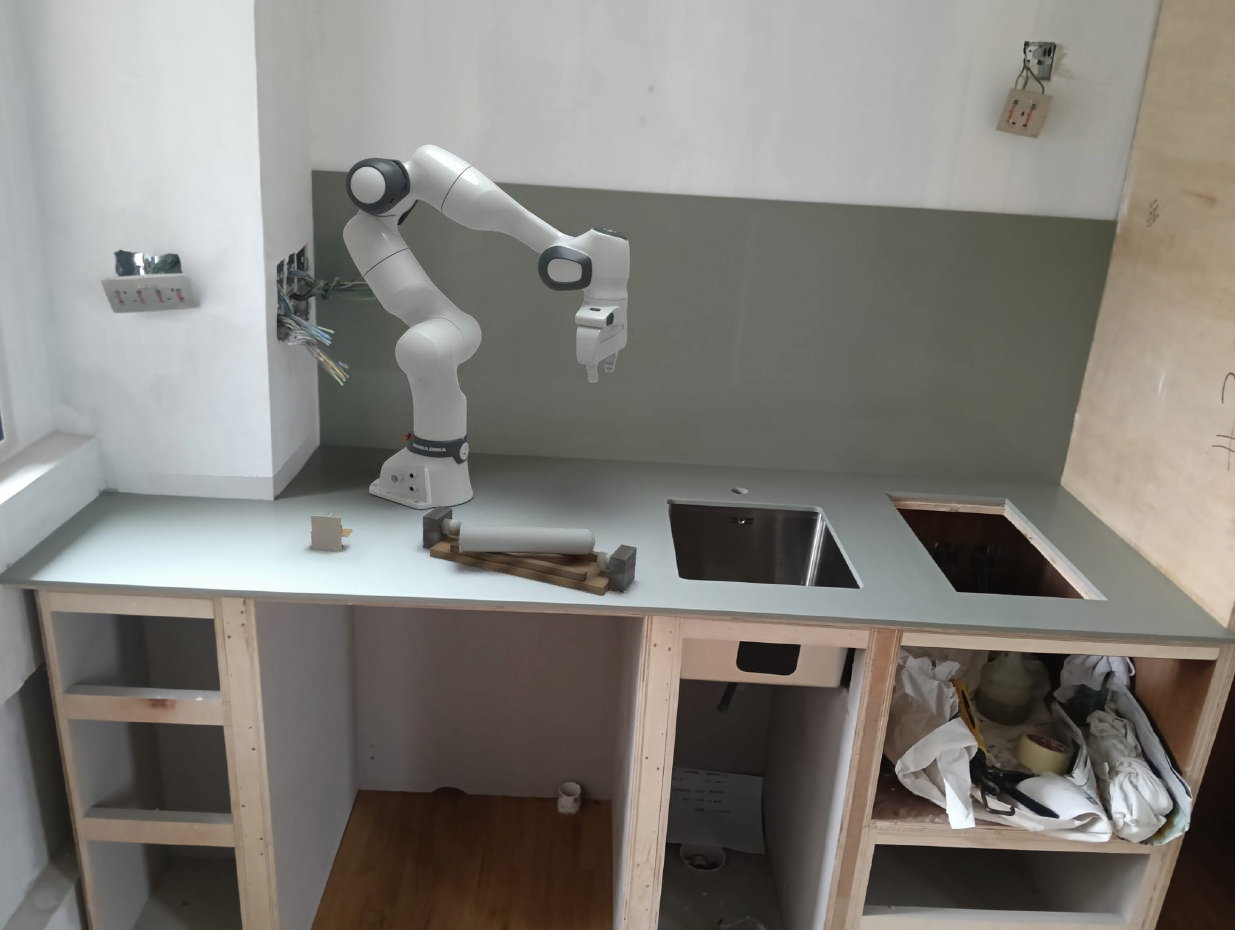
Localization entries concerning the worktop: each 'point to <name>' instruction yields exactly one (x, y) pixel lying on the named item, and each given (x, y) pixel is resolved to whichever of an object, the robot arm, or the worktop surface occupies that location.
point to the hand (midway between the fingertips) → (601, 376)
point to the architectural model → (327, 533)
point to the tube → (526, 540)
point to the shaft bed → (534, 559)
